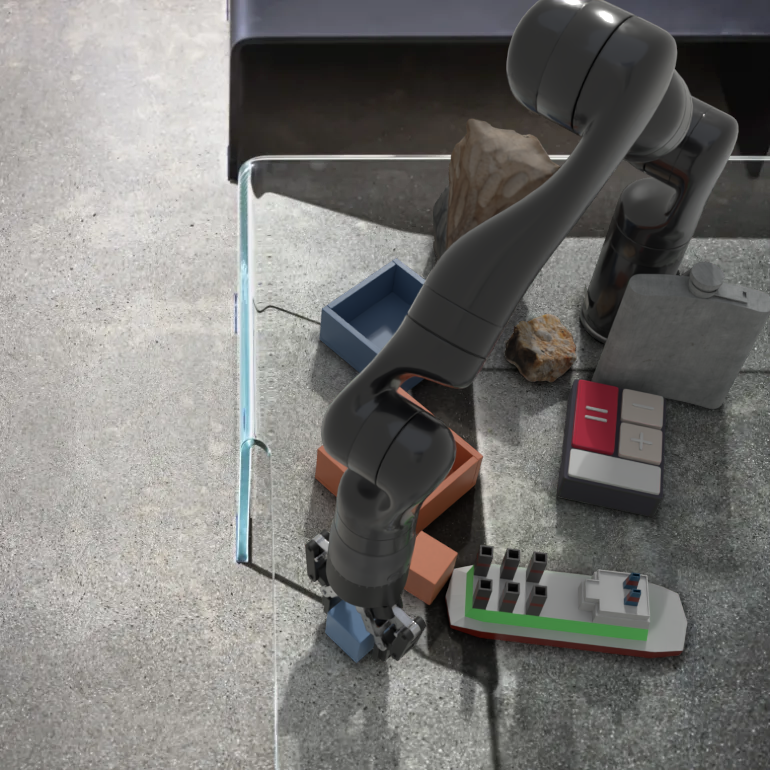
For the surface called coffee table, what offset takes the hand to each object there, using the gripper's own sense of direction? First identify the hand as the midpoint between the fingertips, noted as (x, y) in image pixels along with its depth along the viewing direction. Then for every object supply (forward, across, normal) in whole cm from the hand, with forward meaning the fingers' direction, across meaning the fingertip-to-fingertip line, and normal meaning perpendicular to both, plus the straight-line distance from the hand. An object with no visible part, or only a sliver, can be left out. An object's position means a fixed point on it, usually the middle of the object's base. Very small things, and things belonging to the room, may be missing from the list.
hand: (356, 631), depth 115 cm
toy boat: (+1, -13, -17) cm, 22 cm away
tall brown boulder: (+1, +26, -46) cm, 53 cm away
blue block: (+1, 0, 0) cm, 1 cm away
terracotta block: (+1, 0, -10) cm, 10 cm away
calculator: (+1, -4, -37) cm, 37 cm away
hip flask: (+1, -2, -49) cm, 49 cm away
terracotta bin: (+1, +10, -16) cm, 19 cm away
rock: (+1, +11, -42) cm, 43 cm away
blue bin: (+1, +24, -30) cm, 38 cm away
